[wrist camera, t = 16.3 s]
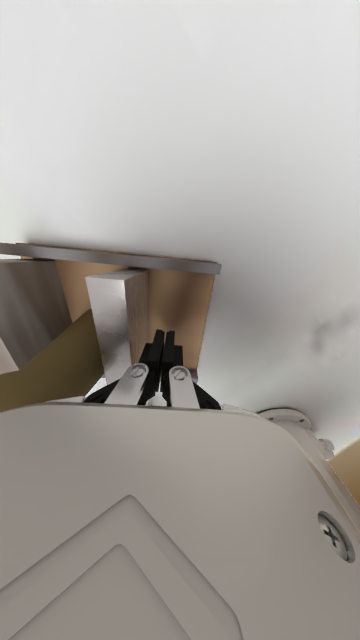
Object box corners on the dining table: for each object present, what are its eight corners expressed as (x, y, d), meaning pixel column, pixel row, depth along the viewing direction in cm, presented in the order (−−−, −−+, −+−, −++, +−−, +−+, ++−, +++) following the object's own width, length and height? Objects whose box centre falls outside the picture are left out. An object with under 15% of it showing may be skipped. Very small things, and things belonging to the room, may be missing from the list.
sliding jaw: (147, 270, 13) (123, 280, 7) (149, 366, 18) (135, 415, 12) (126, 267, 12) (85, 276, 7) (133, 365, 18) (113, 414, 12)
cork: (100, 358, 17) (-6, 494, 7) (67, 318, 15) (-156, 441, 5) (141, 343, 16) (83, 477, 6) (113, 299, 14) (-47, 402, 4)
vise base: (214, 262, 13) (245, 267, 7) (194, 369, 20) (202, 422, 13) (27, 243, 13) (-125, 231, 6) (67, 360, 19) (11, 413, 13)
